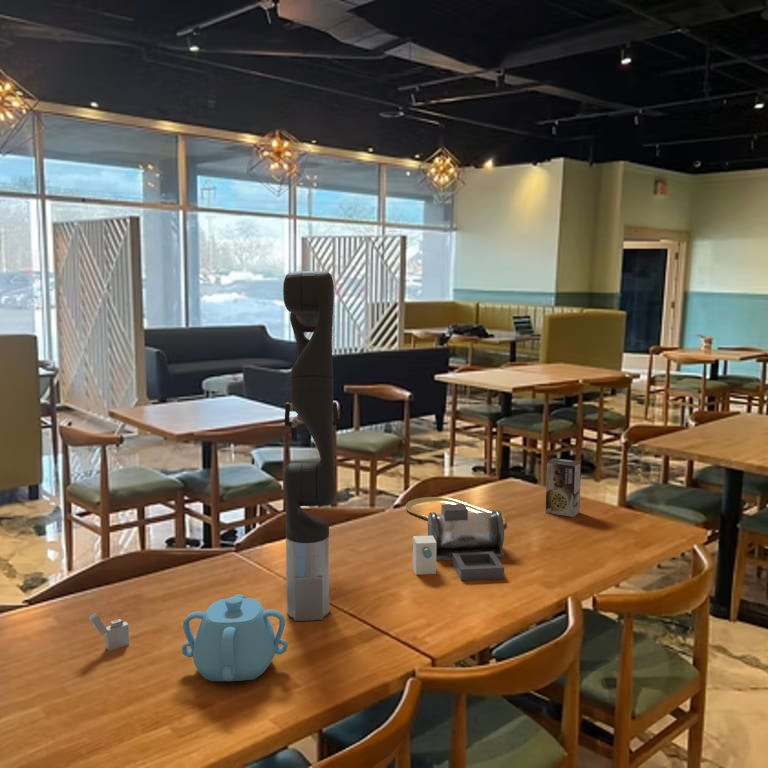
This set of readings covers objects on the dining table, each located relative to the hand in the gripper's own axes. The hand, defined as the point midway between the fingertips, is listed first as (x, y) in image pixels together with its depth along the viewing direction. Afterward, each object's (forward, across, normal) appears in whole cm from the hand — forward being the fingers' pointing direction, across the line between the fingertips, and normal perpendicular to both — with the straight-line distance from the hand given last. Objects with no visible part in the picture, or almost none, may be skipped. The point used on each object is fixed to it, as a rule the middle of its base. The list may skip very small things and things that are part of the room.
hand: (311, 440), depth 202 cm
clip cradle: (+28, +40, -24) cm, 54 cm away
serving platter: (+29, +43, +17) cm, 55 cm away
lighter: (+29, -42, -54) cm, 74 cm away
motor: (+28, +40, -11) cm, 50 cm away
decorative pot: (+29, -17, -64) cm, 73 cm away
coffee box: (+28, +77, +17) cm, 84 cm away
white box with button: (+29, +27, -24) cm, 46 cm away
